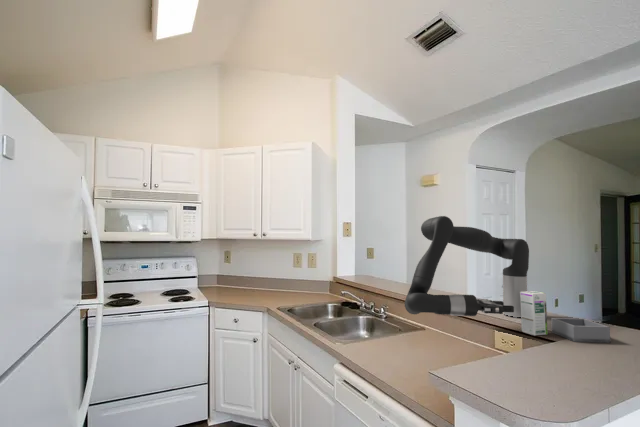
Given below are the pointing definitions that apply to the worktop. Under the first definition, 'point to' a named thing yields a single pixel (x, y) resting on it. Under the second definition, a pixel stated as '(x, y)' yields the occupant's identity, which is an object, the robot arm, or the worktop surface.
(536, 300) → the syrup box
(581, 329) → the tray
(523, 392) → the worktop surface
